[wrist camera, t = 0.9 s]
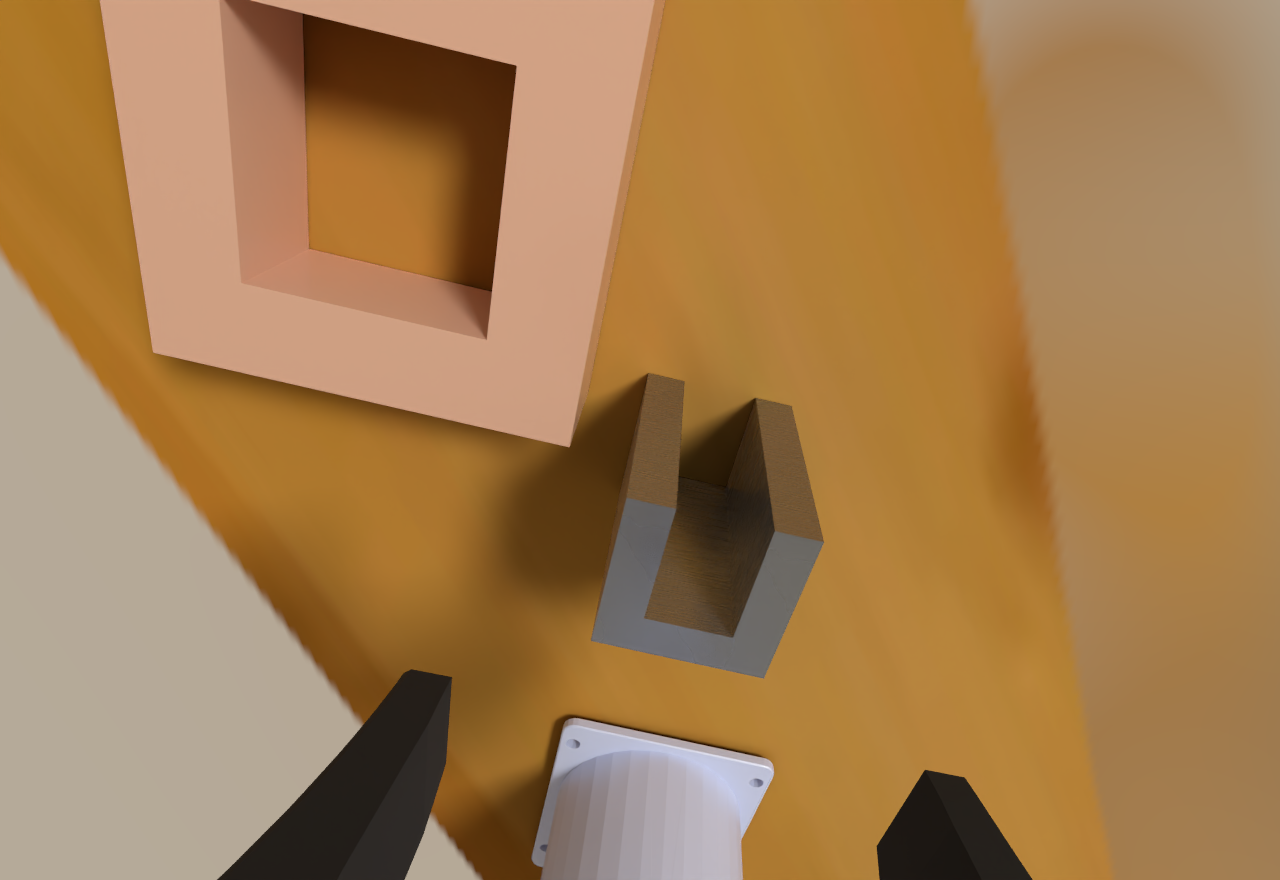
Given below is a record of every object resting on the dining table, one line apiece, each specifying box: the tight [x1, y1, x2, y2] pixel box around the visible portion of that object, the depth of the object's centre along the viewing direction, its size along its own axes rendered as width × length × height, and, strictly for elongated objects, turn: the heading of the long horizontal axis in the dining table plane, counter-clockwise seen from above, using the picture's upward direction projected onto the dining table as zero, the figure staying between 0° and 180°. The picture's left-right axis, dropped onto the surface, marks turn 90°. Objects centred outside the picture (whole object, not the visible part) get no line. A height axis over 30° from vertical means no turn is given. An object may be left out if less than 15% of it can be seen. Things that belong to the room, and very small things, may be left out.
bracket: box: [591, 373, 824, 678], centre depth 17 cm, size 4×4×6 cm
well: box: [100, 0, 665, 447], centre depth 15 cm, size 10×10×3 cm
